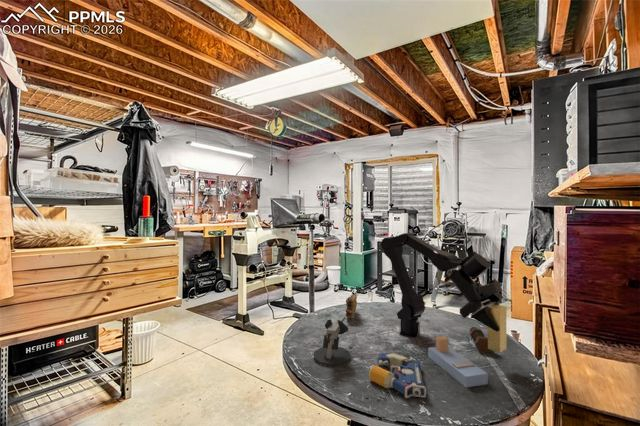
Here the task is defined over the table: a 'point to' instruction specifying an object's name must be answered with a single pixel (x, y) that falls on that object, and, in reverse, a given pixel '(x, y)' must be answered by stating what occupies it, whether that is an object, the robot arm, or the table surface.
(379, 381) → the toy gun
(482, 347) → the bolt
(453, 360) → the plane body
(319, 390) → the table surface
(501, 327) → the tan tall block
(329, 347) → the gun turret
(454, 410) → the table surface
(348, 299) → the wooden carving
